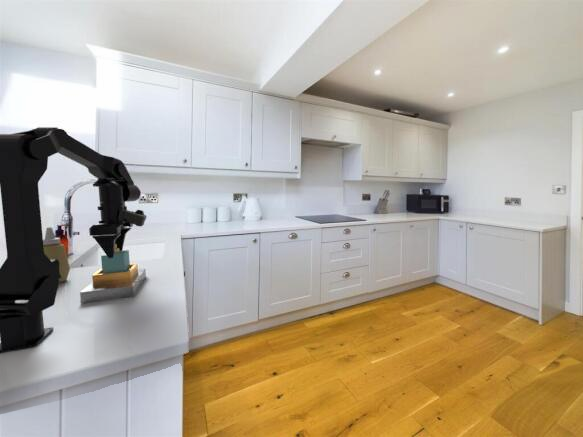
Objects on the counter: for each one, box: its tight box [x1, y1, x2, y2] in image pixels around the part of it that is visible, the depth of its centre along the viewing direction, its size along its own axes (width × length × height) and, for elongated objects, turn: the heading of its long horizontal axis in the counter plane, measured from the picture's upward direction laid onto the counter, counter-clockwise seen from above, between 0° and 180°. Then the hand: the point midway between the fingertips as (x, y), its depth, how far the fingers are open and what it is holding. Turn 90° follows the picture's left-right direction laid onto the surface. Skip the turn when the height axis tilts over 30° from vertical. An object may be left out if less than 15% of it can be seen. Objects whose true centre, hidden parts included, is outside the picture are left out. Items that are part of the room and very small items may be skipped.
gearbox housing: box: [79, 263, 147, 304], centre depth 76 cm, size 19×12×6 cm, turn 21°
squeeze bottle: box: [43, 226, 71, 284], centre depth 80 cm, size 8×8×18 cm
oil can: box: [100, 244, 131, 274], centre depth 75 cm, size 6×6×11 cm
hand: (115, 254), depth 75 cm, fingers open, 9 cm apart
